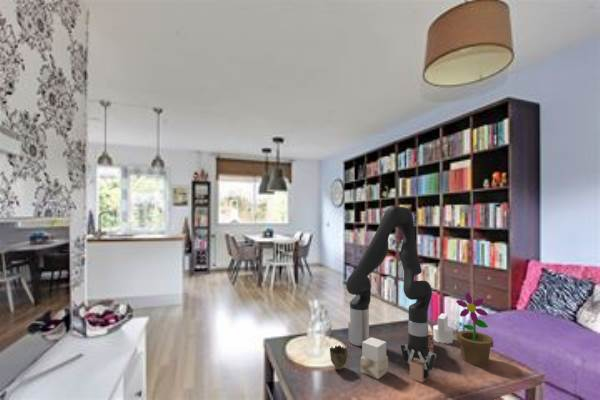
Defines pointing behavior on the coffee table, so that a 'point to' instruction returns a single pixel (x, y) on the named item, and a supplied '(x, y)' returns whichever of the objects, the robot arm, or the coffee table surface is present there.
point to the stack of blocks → (430, 341)
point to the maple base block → (374, 367)
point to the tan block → (417, 370)
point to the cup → (338, 356)
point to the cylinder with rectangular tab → (443, 330)
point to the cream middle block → (374, 349)
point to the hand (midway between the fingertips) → (418, 375)
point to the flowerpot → (474, 335)
